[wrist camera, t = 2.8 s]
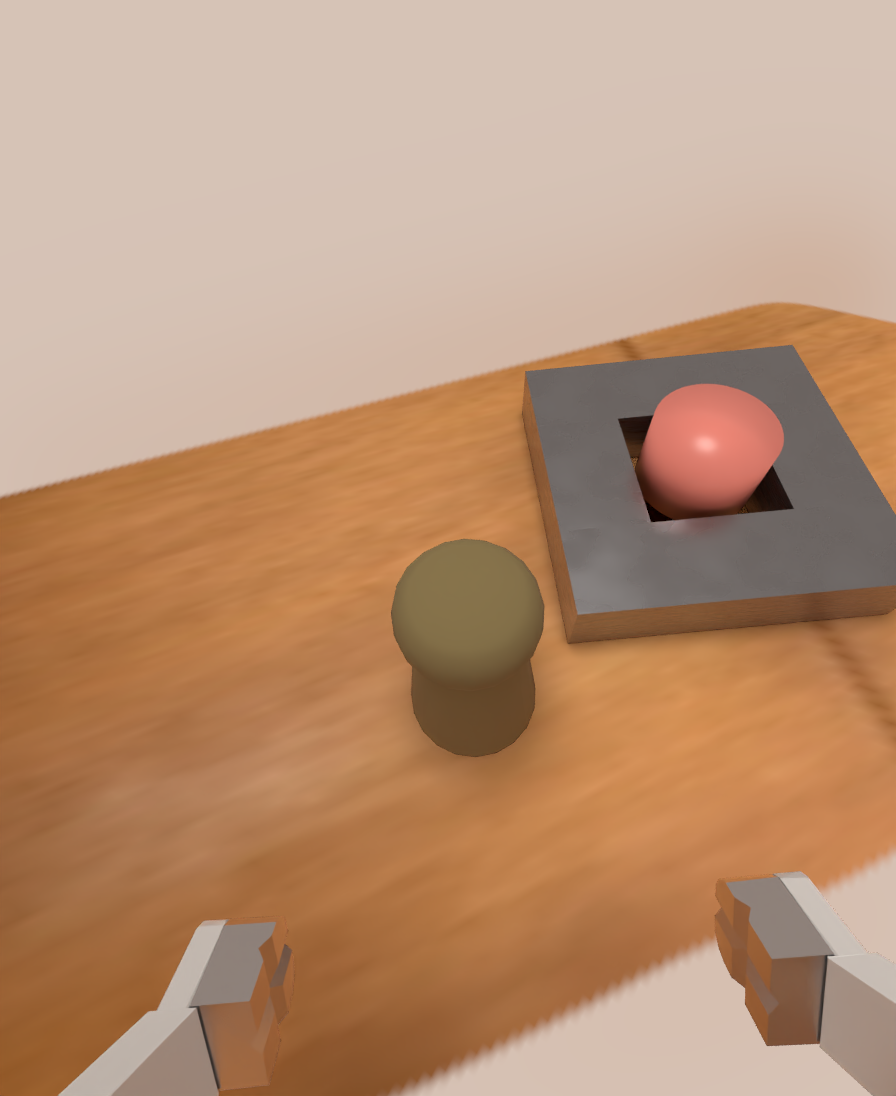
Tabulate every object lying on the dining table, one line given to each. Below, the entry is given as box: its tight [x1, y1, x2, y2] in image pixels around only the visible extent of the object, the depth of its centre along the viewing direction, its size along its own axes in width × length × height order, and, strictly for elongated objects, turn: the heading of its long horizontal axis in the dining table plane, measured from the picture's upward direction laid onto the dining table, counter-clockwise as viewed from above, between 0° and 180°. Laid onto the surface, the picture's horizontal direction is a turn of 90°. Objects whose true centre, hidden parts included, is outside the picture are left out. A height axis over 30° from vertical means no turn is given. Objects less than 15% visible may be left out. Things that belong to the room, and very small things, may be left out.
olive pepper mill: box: [391, 539, 544, 757], centre depth 22 cm, size 6×6×11 cm
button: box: [635, 384, 784, 520], centre depth 28 cm, size 6×6×4 cm
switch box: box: [522, 345, 896, 643], centre depth 30 cm, size 16×16×4 cm
